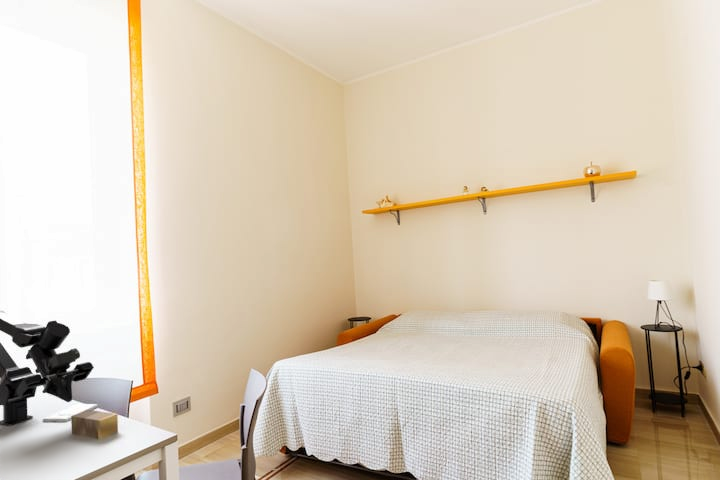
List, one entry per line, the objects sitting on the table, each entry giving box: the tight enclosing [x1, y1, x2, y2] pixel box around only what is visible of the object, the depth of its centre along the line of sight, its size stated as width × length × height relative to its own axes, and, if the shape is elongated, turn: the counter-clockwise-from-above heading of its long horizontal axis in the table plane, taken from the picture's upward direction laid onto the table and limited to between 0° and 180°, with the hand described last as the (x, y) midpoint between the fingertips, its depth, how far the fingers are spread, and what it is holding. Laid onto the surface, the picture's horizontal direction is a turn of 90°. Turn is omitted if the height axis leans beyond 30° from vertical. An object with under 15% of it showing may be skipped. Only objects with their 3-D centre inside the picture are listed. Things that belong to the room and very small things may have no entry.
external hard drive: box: [42, 403, 99, 423], centre depth 133 cm, size 2×8×12 cm
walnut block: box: [70, 409, 119, 440], centre depth 116 cm, size 5×5×12 cm
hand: (70, 400), depth 120 cm, fingers closed
